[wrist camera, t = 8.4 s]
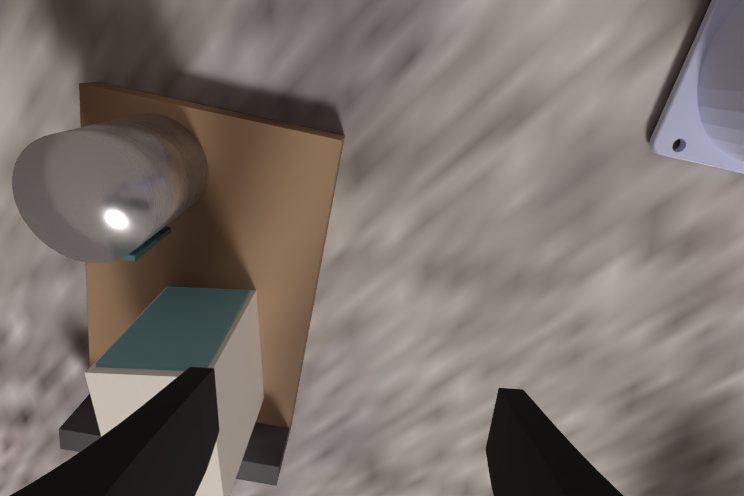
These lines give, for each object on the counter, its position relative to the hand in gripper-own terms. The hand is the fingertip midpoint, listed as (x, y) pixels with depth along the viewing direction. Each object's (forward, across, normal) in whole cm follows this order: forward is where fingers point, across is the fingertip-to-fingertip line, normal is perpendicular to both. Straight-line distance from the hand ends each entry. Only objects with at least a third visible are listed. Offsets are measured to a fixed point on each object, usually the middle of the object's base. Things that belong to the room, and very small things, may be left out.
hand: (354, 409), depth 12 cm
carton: (+9, +7, +5) cm, 12 cm away
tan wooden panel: (+10, +7, +2) cm, 12 cm away
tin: (+9, +8, -4) cm, 13 cm away
